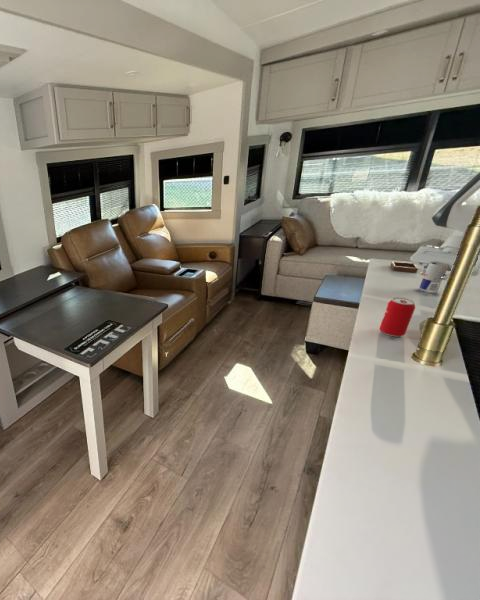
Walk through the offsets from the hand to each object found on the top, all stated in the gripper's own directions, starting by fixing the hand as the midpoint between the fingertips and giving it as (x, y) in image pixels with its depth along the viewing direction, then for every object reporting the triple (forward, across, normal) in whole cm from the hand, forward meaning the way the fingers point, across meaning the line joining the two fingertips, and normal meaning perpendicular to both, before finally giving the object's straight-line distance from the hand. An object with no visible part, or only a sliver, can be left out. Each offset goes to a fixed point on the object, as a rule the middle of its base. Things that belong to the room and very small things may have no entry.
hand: (432, 276), depth 127 cm
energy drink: (+4, 0, +5) cm, 7 cm away
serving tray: (-11, -19, +20) cm, 29 cm away
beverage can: (+38, +12, -29) cm, 49 cm away
